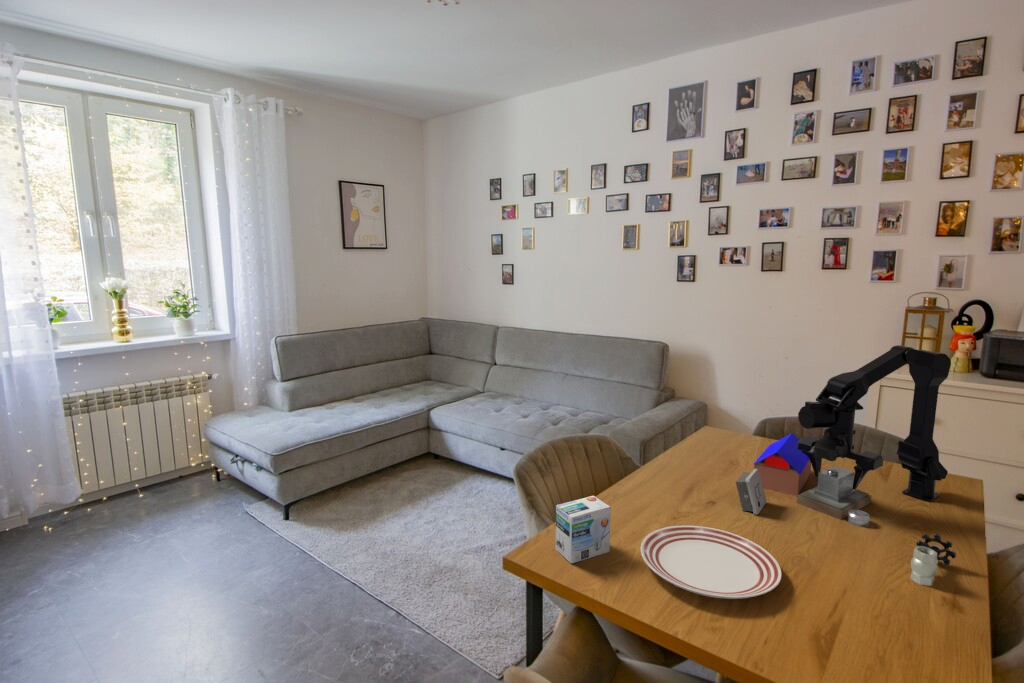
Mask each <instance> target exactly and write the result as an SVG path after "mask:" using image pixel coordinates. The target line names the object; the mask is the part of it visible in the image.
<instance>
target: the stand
mask: <svg viewBox="0 0 1024 683" xmlns="http://www.w3.org/2000/svg"><path fill="white" fill-rule="evenodd" d="M817 488H818V485H816V486H814V487H812V488H809V489H808V490H806V491H803V492H801V493H799V494H798V495H797V496H796V504H799V505H802V506H805V507H807V508H810V509H813V510H815V511H817V512H820V513H823V514H826V515H829V516H831V517H834V518H836V519H839V520H842V519H844V518H846V517H848V511H849V510H851V509H856V510H861V509H862V508H864V507H865V505H866V506H867V505H869V504H871V503H872V495H871V494H870V493H868V492H865V491H862V490H860V489H855V490H856V491H855V494H854V495H852V496H850V497H848V498H846V499H844V500H842V501H840V502H835V501H833V500H830V499H827V498H824V497H821V496H819V495H816V494H814V490H816V489H817Z"/></svg>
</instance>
